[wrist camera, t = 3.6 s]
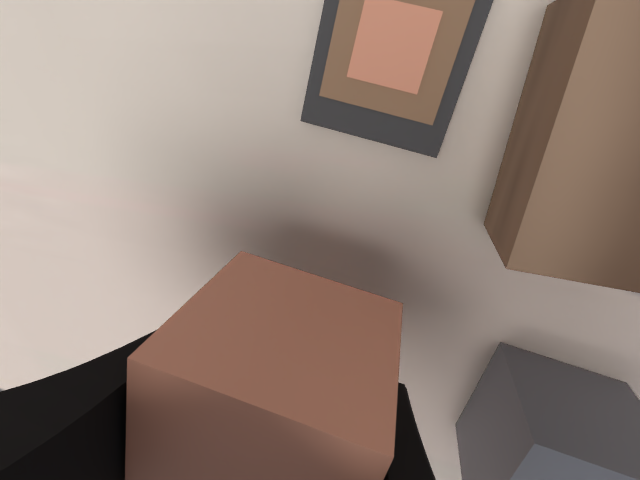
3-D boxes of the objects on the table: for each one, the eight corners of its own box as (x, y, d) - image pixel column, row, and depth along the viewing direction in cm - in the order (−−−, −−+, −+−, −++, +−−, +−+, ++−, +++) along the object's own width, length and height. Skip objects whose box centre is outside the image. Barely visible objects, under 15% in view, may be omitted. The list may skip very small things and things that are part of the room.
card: (508, -46, 11) (512, -53, 10) (436, 156, 14) (437, 159, 13) (343, -79, 12) (340, -87, 11) (303, 119, 14) (298, 121, 14)
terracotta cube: (402, 303, 11) (393, 457, 6) (356, 423, 13) (325, 604, 8) (241, 250, 11) (127, 358, 7) (221, 373, 13) (124, 517, 9)
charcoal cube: (625, 381, 15) (715, 507, 11) (564, 462, 17) (618, 595, 13) (499, 340, 16) (534, 443, 11) (455, 423, 18) (469, 538, 13)
